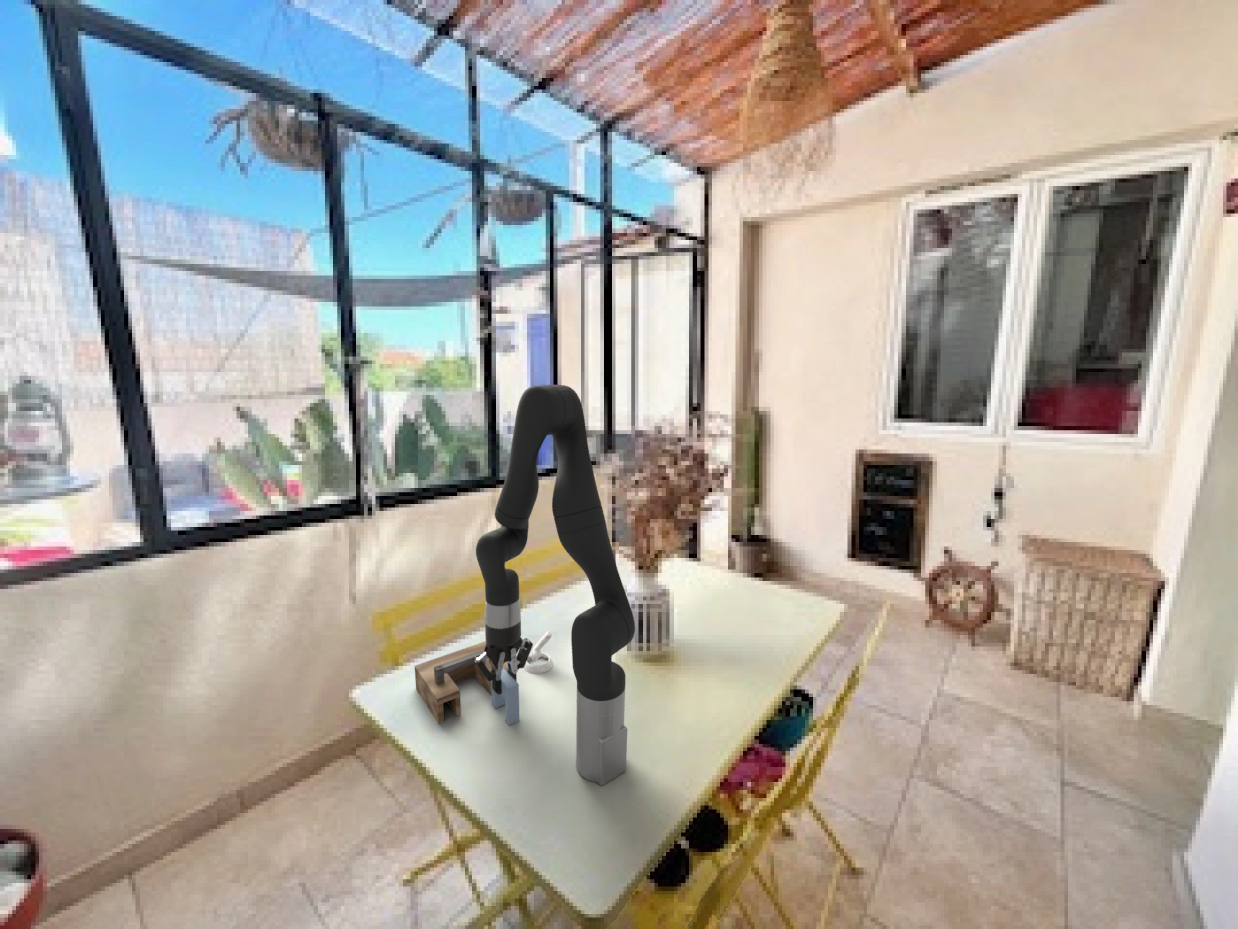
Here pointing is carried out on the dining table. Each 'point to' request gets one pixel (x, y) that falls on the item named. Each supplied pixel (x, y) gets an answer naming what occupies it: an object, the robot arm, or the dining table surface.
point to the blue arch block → (507, 698)
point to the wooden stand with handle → (449, 678)
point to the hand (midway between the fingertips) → (504, 689)
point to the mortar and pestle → (538, 654)
